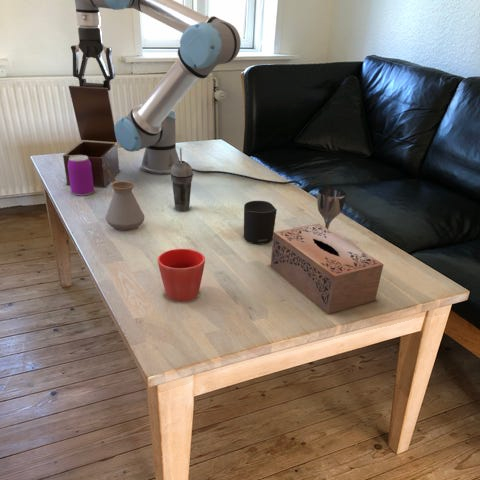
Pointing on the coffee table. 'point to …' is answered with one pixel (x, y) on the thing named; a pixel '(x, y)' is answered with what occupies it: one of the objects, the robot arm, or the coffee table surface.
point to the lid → (93, 112)
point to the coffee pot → (123, 206)
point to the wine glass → (330, 203)
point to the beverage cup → (181, 184)
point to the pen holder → (259, 222)
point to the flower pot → (181, 273)
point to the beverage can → (80, 175)
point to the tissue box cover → (325, 267)
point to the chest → (96, 160)
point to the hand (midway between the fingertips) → (96, 99)
